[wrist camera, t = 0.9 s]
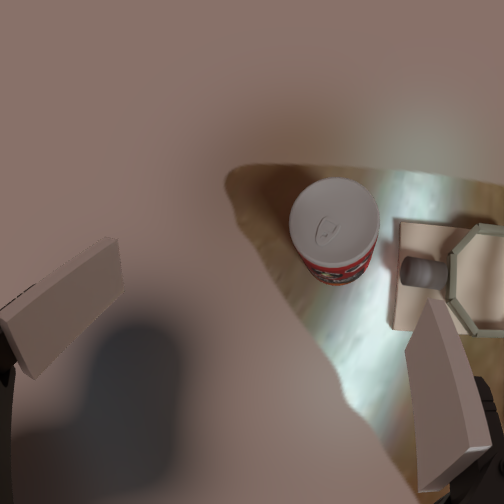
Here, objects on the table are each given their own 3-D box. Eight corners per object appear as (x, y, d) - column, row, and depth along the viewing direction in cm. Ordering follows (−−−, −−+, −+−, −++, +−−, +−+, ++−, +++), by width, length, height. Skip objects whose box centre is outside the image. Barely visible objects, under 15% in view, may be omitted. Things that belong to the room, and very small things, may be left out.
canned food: (297, 278, 36) (276, 254, 25) (315, 214, 37) (301, 168, 27) (362, 294, 33) (369, 276, 23) (377, 227, 34) (387, 185, 24)
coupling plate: (552, 241, 26) (570, 230, 22) (553, 337, 23) (573, 336, 19) (399, 223, 34) (405, 207, 29) (391, 332, 31) (398, 332, 26)
